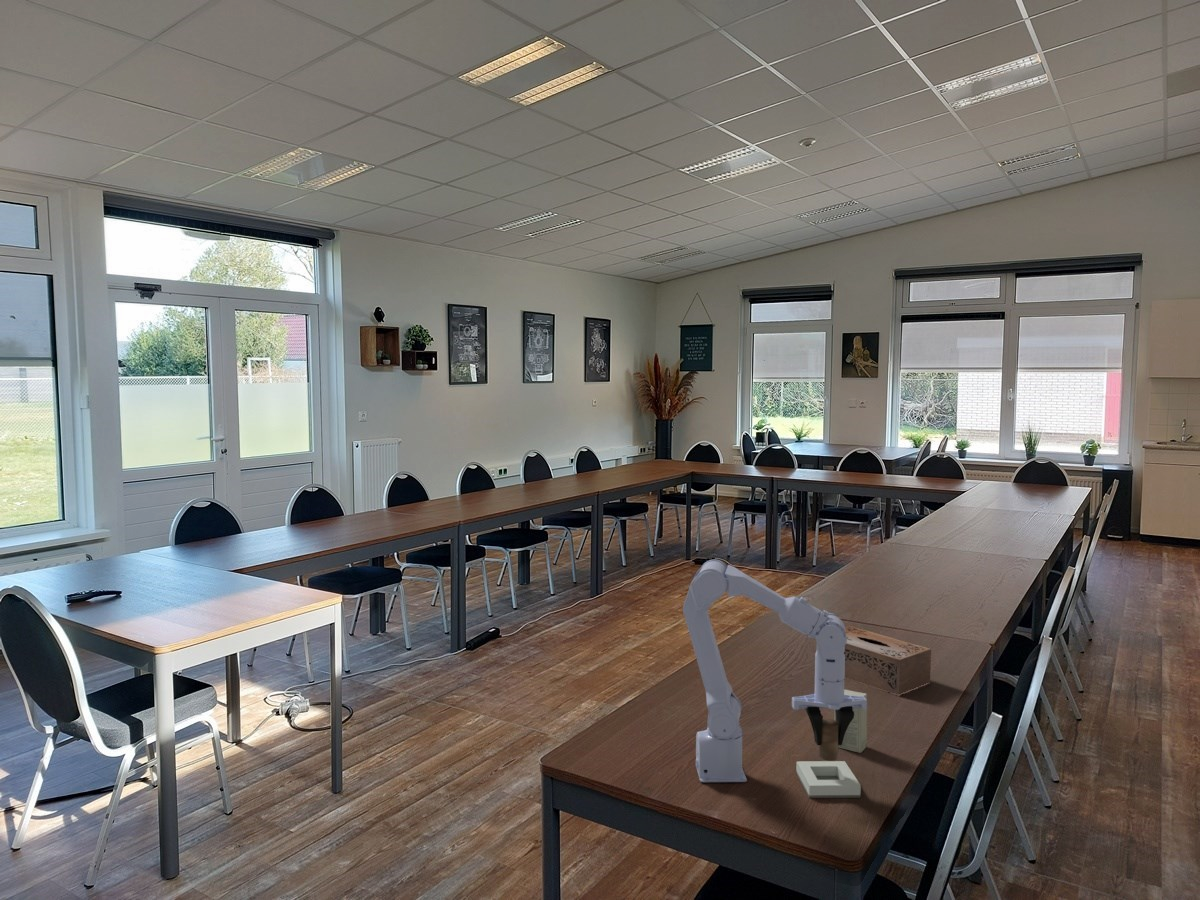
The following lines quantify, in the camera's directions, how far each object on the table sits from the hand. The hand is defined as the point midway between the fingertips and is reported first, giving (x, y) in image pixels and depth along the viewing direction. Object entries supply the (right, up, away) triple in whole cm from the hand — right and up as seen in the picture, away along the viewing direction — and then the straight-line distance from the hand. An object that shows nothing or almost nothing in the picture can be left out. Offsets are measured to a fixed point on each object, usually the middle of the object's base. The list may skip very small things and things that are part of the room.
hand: (828, 743), depth 160 cm
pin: (0, -3, 0) cm, 3 cm away
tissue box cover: (+29, -4, +61) cm, 68 cm away
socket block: (0, -9, +1) cm, 9 cm away
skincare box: (+10, -8, +18) cm, 22 cm away
